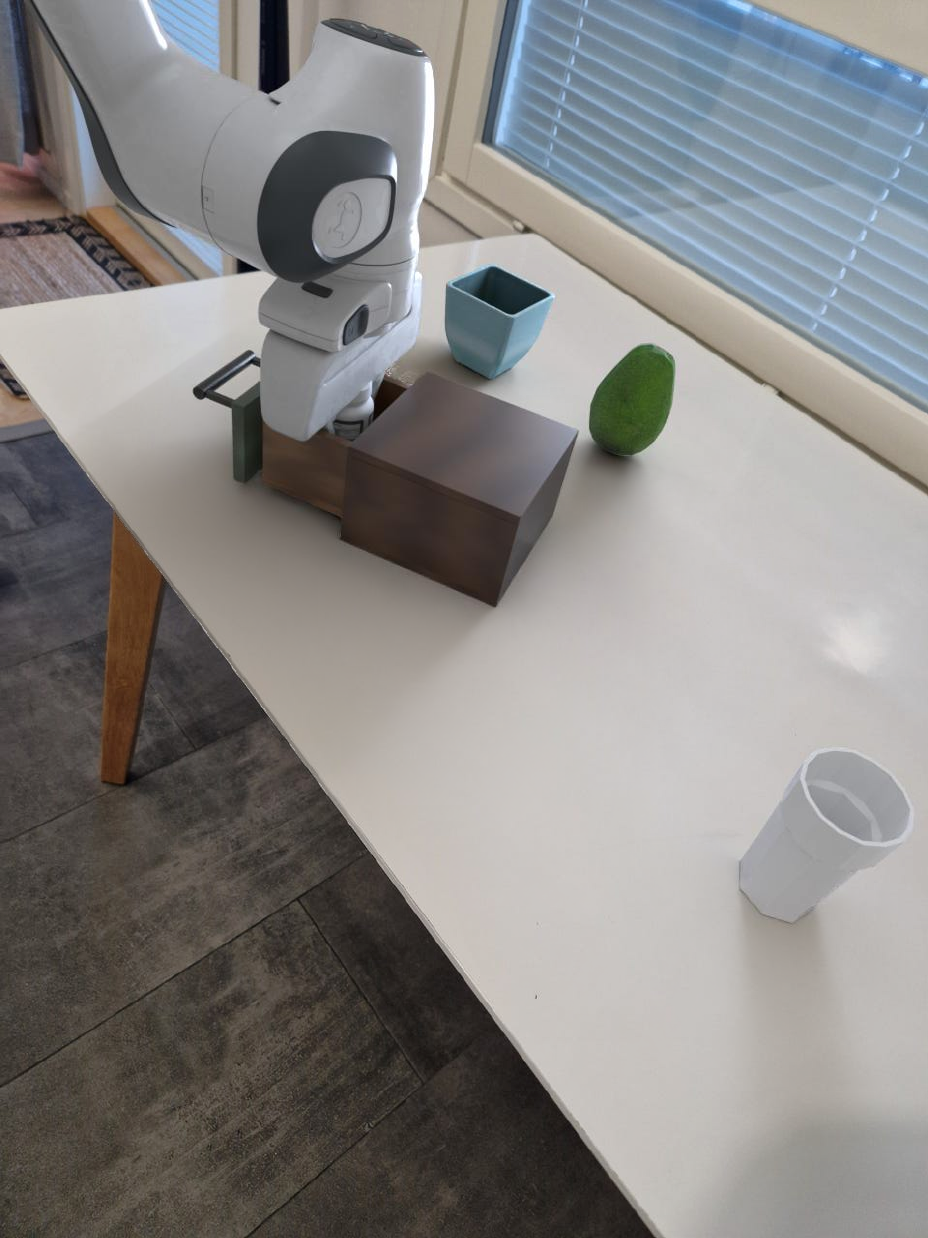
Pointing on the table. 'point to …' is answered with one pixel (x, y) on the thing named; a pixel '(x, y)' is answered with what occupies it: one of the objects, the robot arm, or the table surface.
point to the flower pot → (493, 318)
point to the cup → (825, 832)
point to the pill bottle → (355, 415)
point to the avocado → (633, 401)
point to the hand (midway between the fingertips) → (343, 430)
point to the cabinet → (455, 485)
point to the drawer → (287, 442)
